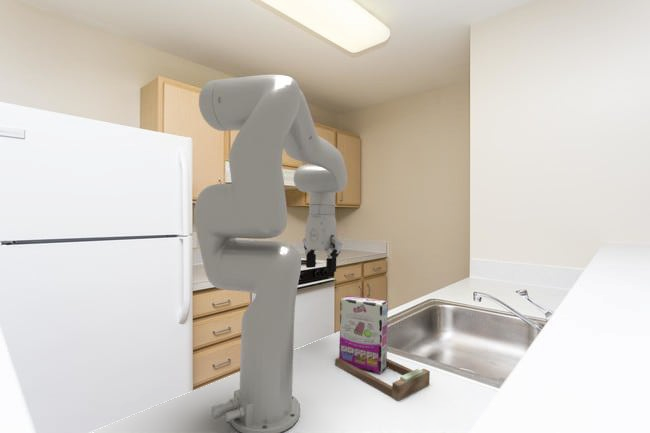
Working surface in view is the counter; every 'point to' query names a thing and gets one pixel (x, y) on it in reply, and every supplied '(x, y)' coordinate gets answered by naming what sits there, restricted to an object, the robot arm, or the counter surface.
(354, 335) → the candy bar box
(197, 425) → the counter surface
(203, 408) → the counter surface
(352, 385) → the counter surface
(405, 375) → the wooden box holder
